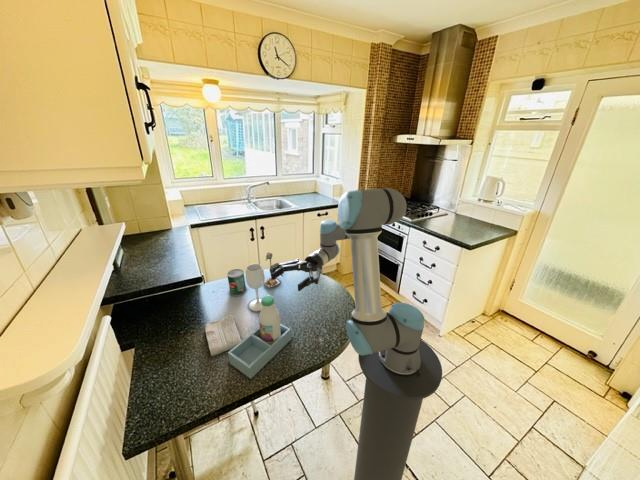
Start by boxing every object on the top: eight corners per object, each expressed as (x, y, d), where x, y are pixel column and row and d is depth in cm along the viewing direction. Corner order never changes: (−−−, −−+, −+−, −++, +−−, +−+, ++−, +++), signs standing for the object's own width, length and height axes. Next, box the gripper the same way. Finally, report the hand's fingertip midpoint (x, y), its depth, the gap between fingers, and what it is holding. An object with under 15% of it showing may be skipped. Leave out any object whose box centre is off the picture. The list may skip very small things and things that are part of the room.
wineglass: (256, 314, 116) (251, 274, 108) (245, 305, 122) (240, 267, 113) (271, 305, 122) (268, 267, 113) (260, 297, 127) (256, 260, 119)
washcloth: (233, 318, 113) (232, 312, 112) (243, 346, 99) (243, 340, 98) (204, 328, 108) (203, 322, 107) (211, 359, 94) (210, 352, 93)
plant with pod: (286, 284, 138) (284, 251, 129) (265, 289, 134) (261, 255, 125) (282, 277, 144) (280, 245, 136) (262, 281, 140) (258, 248, 132)
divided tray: (291, 339, 103) (290, 329, 101) (250, 379, 87) (249, 368, 84) (271, 327, 108) (270, 318, 106) (229, 363, 92) (227, 352, 90)
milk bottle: (274, 329, 106) (270, 289, 98) (285, 340, 101) (282, 299, 93) (257, 339, 101) (252, 298, 93) (268, 351, 96) (263, 308, 88)
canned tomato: (248, 287, 135) (246, 269, 130) (241, 296, 128) (238, 278, 123) (235, 285, 136) (232, 268, 132) (227, 294, 129) (223, 276, 125)
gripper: (294, 246, 120) (261, 264, 104) (340, 260, 107) (310, 284, 91) (295, 260, 123) (262, 280, 107) (339, 276, 110) (310, 301, 94)
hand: (284, 282), depth 99 cm, fingers open, 13 cm apart
